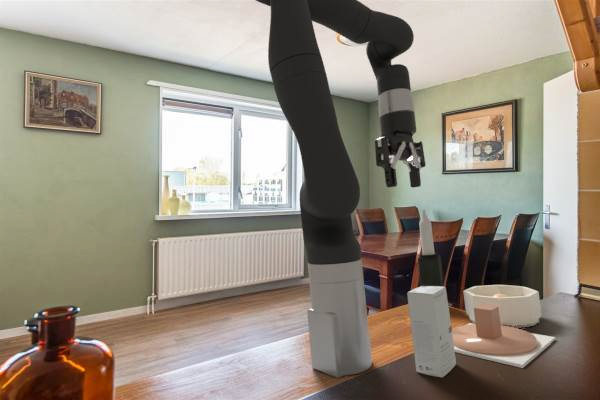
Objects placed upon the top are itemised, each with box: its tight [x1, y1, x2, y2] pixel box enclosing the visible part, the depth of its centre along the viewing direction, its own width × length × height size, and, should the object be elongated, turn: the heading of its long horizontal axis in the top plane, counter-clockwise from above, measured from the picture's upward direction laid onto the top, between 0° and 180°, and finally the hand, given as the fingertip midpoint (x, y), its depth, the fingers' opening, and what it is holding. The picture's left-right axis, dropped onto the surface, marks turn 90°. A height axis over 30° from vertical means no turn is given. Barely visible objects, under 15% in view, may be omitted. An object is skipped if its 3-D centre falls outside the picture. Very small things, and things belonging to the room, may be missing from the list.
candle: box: [417, 208, 445, 287], centre depth 90 cm, size 5×5×25 cm
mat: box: [454, 322, 556, 369], centre depth 62 cm, size 15×15×1 cm
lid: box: [452, 305, 537, 355], centre depth 62 cm, size 14×14×6 cm
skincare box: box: [406, 286, 457, 378], centre depth 55 cm, size 6×4×12 cm
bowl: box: [462, 284, 543, 326], centre depth 75 cm, size 13×13×6 cm
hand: (404, 187), depth 76 cm, fingers open, 8 cm apart
